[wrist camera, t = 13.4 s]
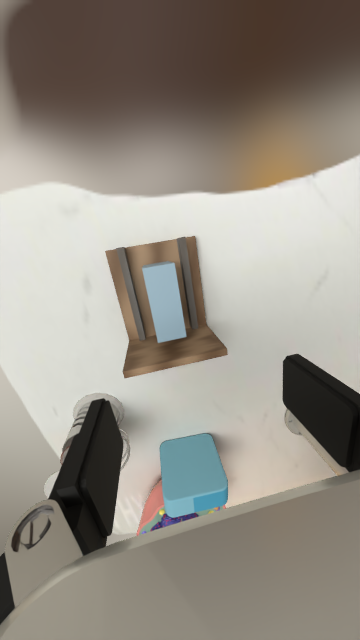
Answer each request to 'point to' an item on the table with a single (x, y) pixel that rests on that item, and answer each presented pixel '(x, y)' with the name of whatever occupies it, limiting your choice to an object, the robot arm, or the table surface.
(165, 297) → the light blue rectangular block
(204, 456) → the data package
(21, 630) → the robot arm
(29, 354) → the table surface
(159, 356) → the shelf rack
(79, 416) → the french press
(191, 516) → the cell model
